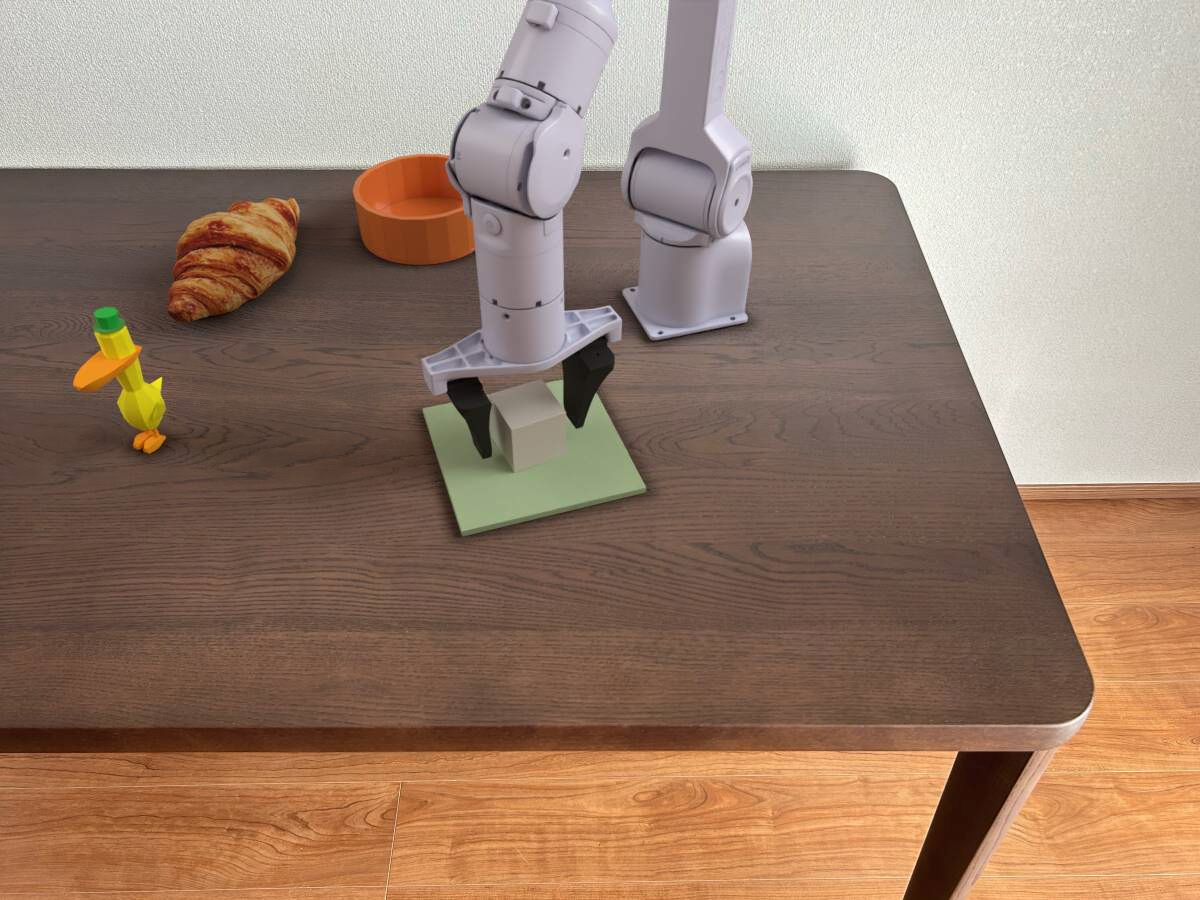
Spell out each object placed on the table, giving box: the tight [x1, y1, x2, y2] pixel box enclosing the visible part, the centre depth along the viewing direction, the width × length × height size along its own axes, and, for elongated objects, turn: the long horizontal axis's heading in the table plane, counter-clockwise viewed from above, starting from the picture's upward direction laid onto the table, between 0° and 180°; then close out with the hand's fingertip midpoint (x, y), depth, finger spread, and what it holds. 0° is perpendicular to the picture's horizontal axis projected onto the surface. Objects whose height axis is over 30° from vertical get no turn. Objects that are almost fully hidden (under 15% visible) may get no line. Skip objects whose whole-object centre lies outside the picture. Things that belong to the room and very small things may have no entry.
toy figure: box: [72, 306, 167, 455], centre depth 71 cm, size 7×4×12 cm, turn 157°
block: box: [488, 378, 567, 473], centre depth 73 cm, size 4×4×4 cm
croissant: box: [166, 197, 301, 323], centre depth 91 cm, size 21×10×8 cm, turn 166°
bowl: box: [352, 153, 475, 266], centre depth 97 cm, size 13×13×5 cm
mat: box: [422, 378, 647, 538], centre depth 75 cm, size 14×14×1 cm
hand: (529, 434), depth 74 cm, fingers open, 7 cm apart
